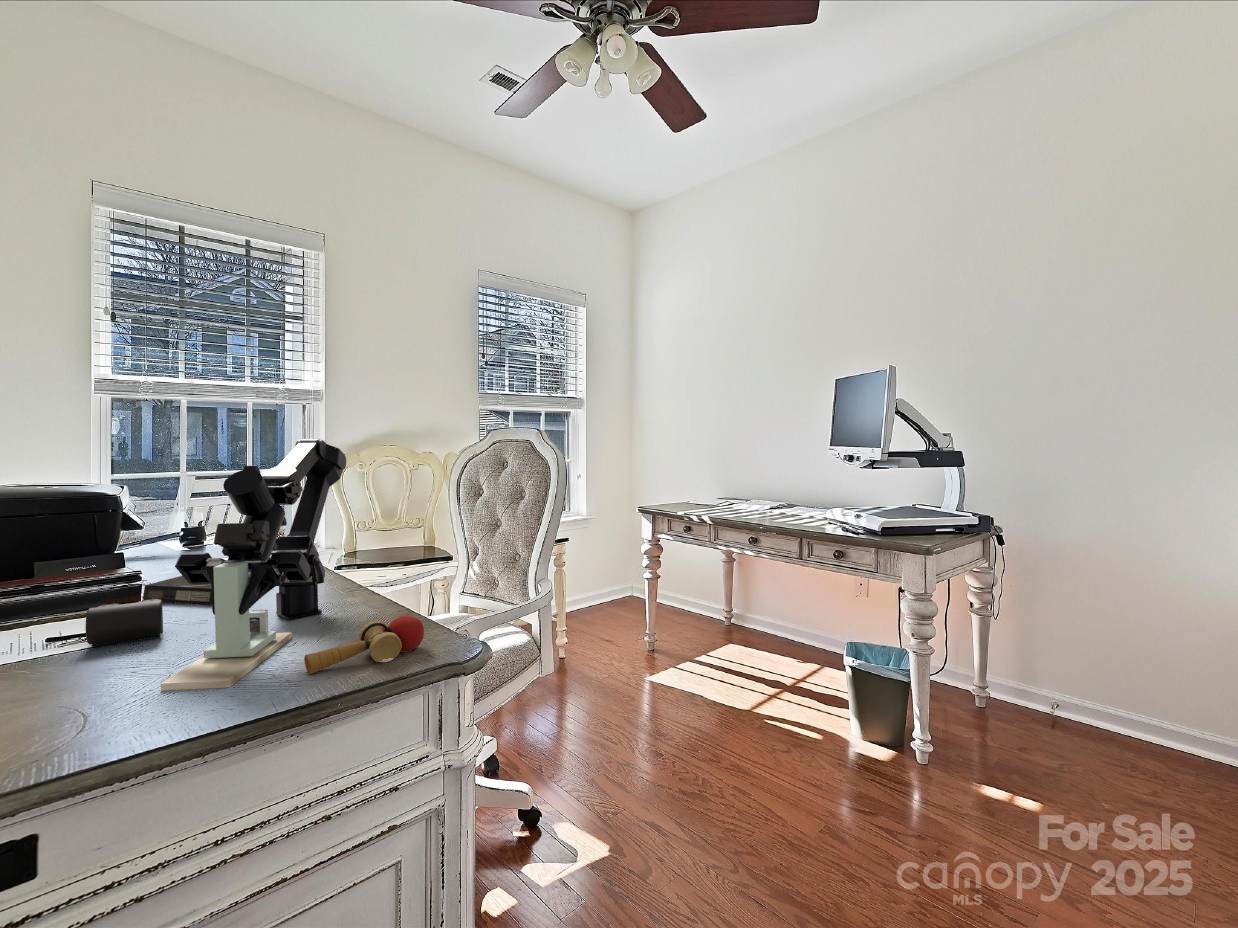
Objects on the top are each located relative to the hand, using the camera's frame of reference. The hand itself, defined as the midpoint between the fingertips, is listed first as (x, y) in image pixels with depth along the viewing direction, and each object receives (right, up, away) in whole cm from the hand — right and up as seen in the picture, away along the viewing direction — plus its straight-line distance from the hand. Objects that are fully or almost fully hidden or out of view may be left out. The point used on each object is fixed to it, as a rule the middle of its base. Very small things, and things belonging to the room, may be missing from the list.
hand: (227, 613), depth 93 cm
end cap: (-25, -8, +11) cm, 28 cm away
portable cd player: (-32, -7, +43) cm, 54 cm away
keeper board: (0, -8, +2) cm, 8 cm away
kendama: (+21, -8, +3) cm, 23 cm away
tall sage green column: (0, -7, +4) cm, 8 cm away
